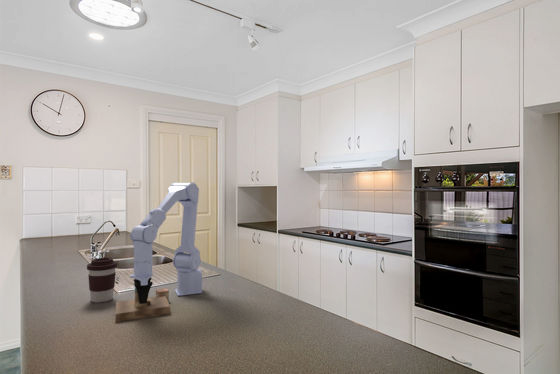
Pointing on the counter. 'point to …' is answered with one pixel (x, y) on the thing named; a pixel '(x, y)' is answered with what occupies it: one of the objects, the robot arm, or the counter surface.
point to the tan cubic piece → (163, 293)
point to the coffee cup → (101, 279)
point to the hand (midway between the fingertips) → (142, 301)
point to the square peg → (138, 300)
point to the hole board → (142, 309)
